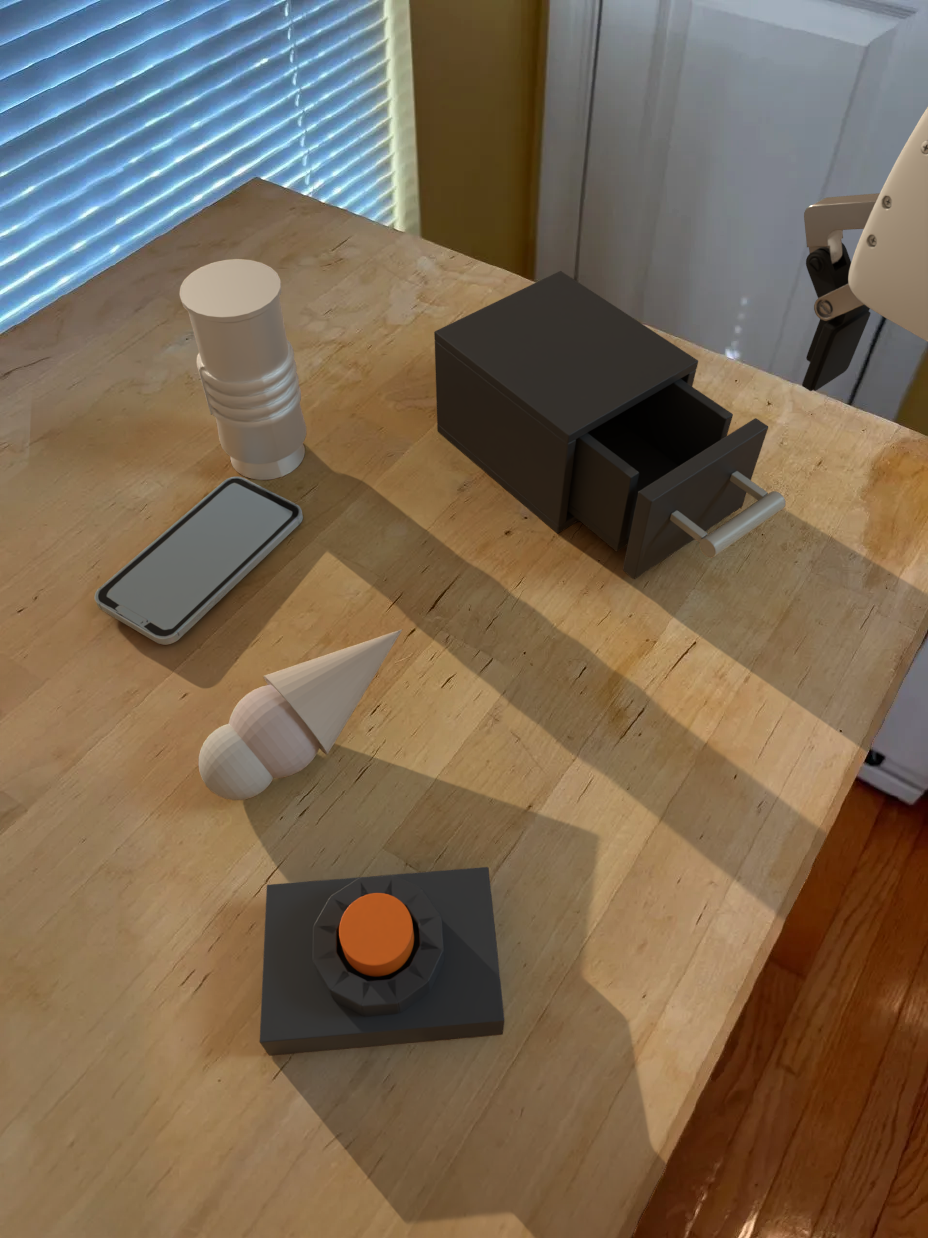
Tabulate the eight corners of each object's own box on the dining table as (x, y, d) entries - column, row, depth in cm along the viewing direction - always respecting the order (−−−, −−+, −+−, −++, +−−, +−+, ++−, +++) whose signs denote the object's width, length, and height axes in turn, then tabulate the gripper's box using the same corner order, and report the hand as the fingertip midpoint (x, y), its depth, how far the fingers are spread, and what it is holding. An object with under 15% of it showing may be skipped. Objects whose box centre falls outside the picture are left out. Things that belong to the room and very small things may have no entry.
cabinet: (675, 460, 74) (699, 360, 67) (557, 534, 70) (568, 435, 62) (551, 370, 81) (560, 270, 74) (437, 431, 77) (433, 331, 69)
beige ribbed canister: (219, 433, 77) (174, 266, 65) (304, 419, 78) (274, 252, 66) (227, 491, 72) (180, 324, 61) (317, 475, 73) (288, 308, 62)
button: (412, 902, 48) (410, 889, 47) (415, 973, 46) (414, 962, 45) (342, 908, 48) (338, 895, 47) (342, 980, 46) (338, 968, 45)
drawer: (786, 539, 68) (819, 459, 62) (678, 617, 64) (701, 539, 58) (615, 413, 77) (628, 332, 70) (508, 475, 72) (513, 394, 66)
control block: (487, 885, 53) (489, 852, 50) (502, 1034, 48) (505, 1010, 45) (274, 903, 53) (260, 871, 49) (268, 1056, 48) (252, 1033, 44)
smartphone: (308, 509, 70) (166, 644, 62) (309, 518, 71) (170, 652, 63) (232, 472, 73) (87, 597, 65) (234, 481, 73) (91, 606, 65)
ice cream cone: (418, 665, 62) (235, 816, 58) (362, 592, 61) (172, 740, 57) (446, 668, 56) (244, 836, 53) (385, 587, 55) (174, 752, 51)
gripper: (1372, 130, 32) (1096, 487, 46) (933, -26, 40) (810, 318, 54) (1275, 204, 29) (1012, 562, 43) (822, 20, 37) (723, 372, 51)
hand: (900, 426), depth 48 cm, fingers open, 9 cm apart
